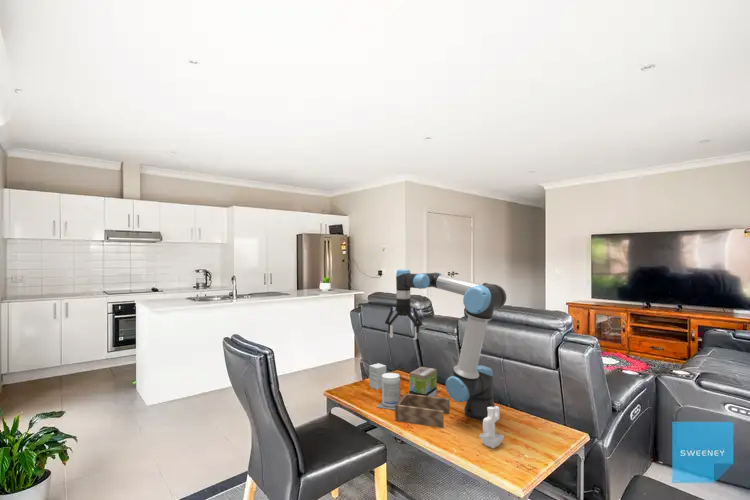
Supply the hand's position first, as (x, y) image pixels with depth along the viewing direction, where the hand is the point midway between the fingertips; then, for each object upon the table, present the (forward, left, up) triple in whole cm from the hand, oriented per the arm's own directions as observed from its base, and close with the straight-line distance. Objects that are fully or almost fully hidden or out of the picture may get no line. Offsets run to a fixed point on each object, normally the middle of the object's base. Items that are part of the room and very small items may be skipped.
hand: (403, 338), depth 204 cm
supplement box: (+20, -14, -33) cm, 41 cm away
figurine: (-47, +35, -33) cm, 67 cm away
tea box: (-9, -6, -33) cm, 35 cm away
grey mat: (+4, +9, -33) cm, 34 cm away
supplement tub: (+4, +9, -32) cm, 34 cm away
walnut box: (-15, +18, -33) cm, 40 cm away
